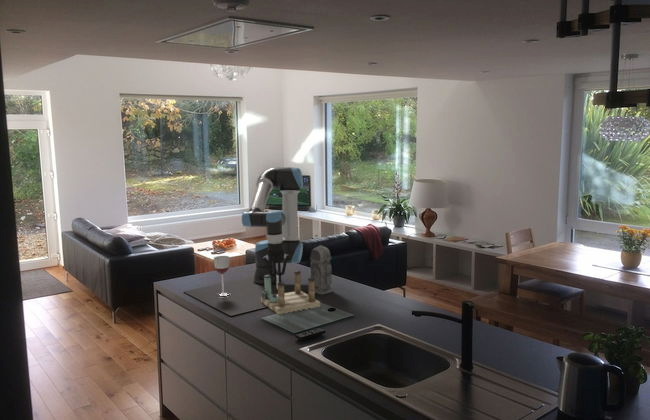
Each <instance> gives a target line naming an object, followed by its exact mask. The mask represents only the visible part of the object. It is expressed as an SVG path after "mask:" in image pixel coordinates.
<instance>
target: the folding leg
mask: <svg viewBox="0 0 650 420" xmlns="http://www.w3.org/2000/svg"><path fill="white" fill-rule="evenodd" d="M264 280H265V284H264V291H265V293H266V298H269V299H270V302H273V303H276V302H278V296H277V297H273V295H274V294H273V293H272V284H271V275H265V276H264Z"/></svg>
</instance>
